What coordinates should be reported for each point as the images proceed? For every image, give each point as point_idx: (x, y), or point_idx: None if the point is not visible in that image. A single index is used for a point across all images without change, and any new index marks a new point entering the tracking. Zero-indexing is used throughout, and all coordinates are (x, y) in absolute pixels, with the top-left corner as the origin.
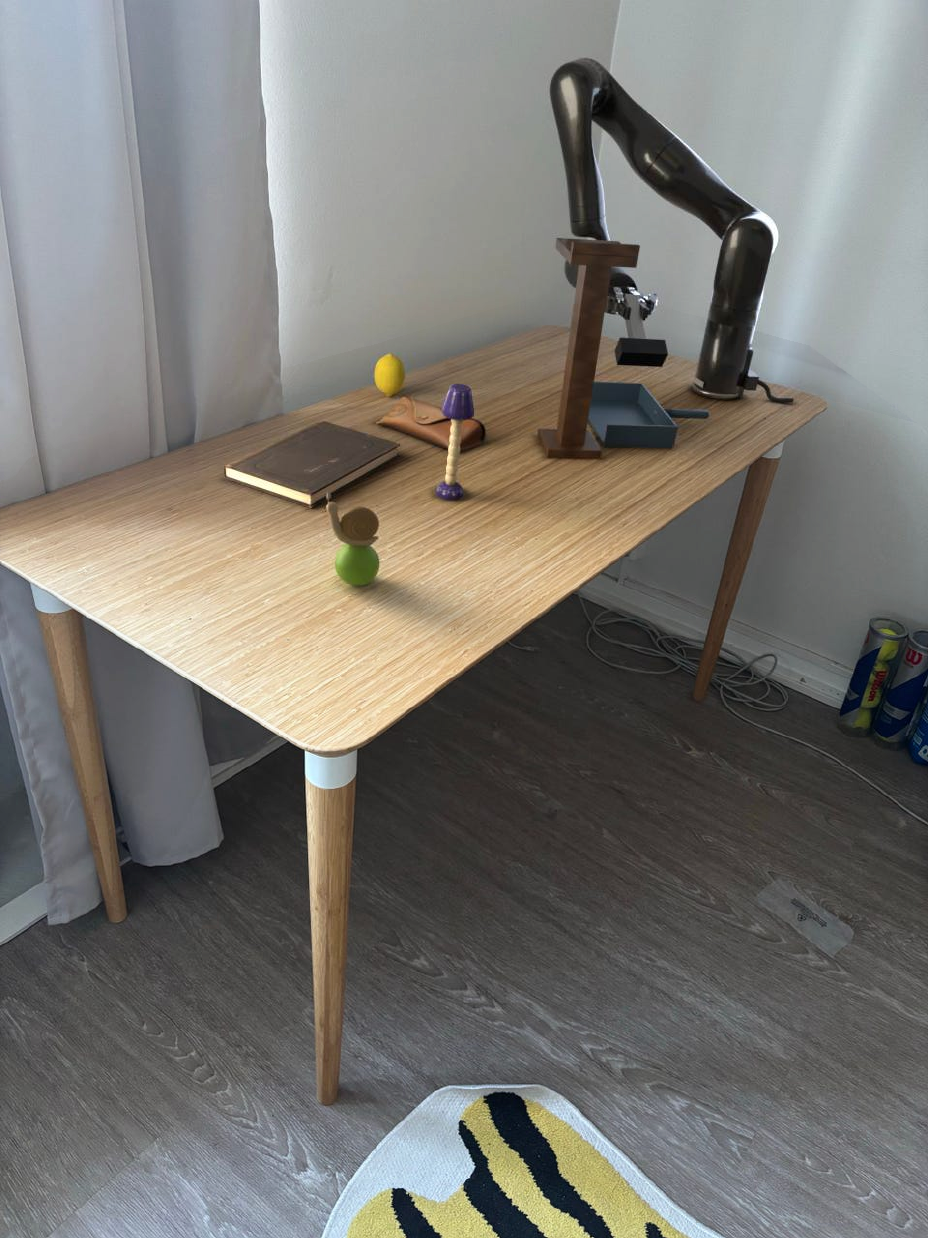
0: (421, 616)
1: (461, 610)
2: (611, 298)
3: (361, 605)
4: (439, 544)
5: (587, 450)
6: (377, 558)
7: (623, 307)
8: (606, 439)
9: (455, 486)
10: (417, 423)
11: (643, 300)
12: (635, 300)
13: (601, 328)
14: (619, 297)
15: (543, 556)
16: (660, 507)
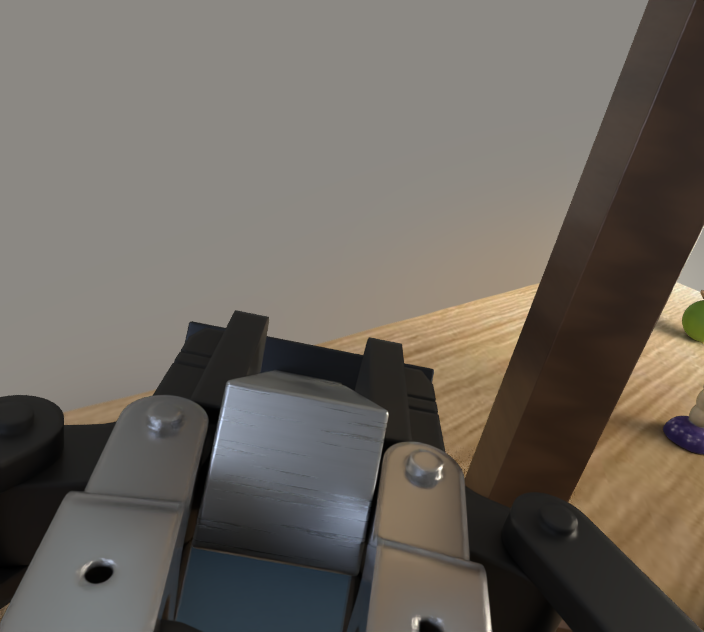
0: None
1: None
2: (534, 516)
3: (674, 321)
4: (646, 361)
5: None
6: (690, 308)
7: (416, 388)
8: None
9: (684, 417)
10: None
11: (124, 425)
12: (277, 384)
13: (573, 201)
14: (420, 546)
15: (523, 324)
16: (341, 350)
